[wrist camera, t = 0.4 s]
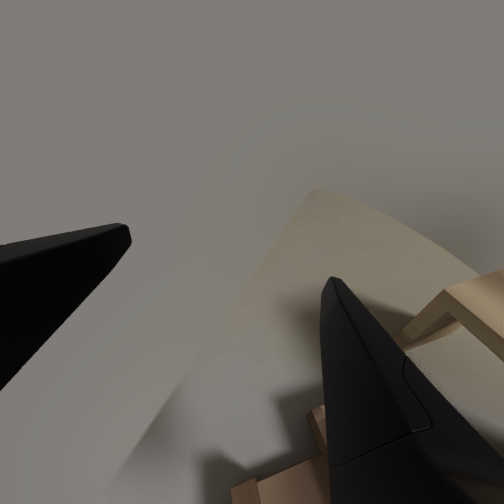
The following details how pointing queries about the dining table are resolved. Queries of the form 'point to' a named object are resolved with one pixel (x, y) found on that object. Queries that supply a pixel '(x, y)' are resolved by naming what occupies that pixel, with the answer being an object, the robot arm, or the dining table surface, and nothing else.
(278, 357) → the dining table surface
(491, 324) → the shelf
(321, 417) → the wooden box with handle
